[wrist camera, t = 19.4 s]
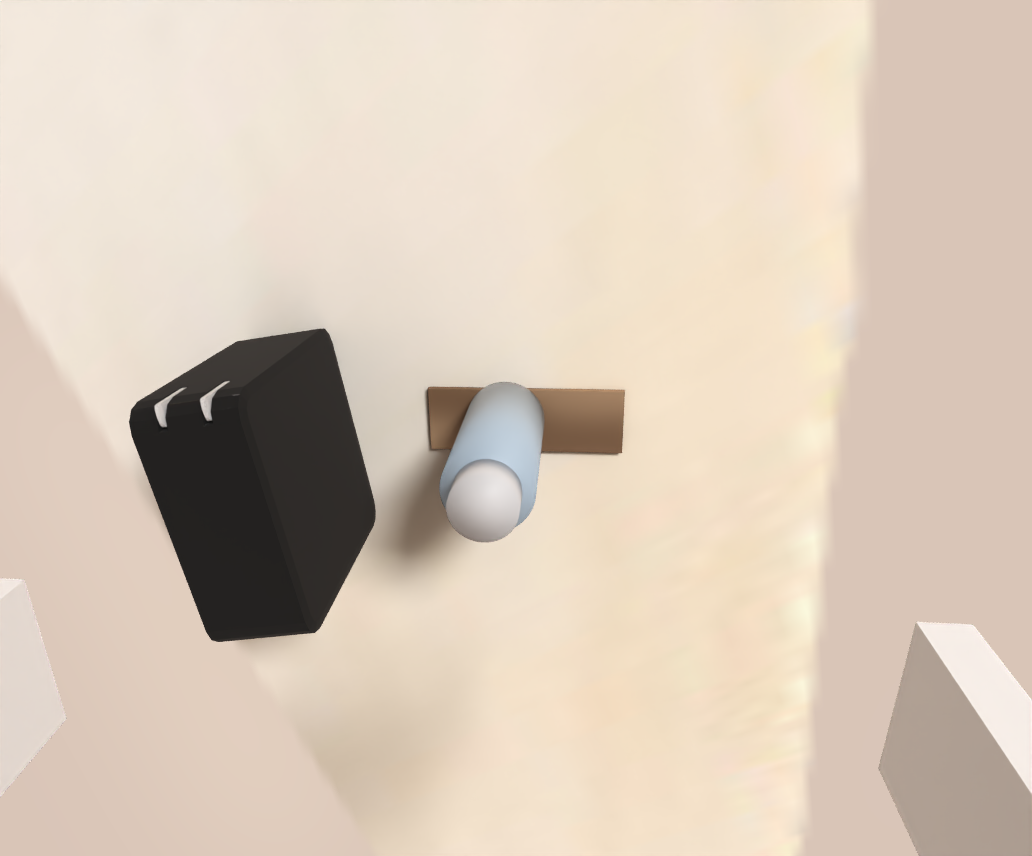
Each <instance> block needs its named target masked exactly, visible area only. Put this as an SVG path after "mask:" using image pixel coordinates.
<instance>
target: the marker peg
mask: <svg viewBox="0 0 1032 856" xmlns="http://www.w3.org/2000/svg"><path fill="white" fill-rule="evenodd" d="M544 421H545V419H544V411H543V408H542V405H541V403H540V402H539V400H538V399H537V397H536V396H535V395H534V394H533V393H532V392H531V391H530V390H528V389H527V388H525V387H523V386H521V385H518V384H515V383H510V382H499V383H494V384H491V385H489V386H486V387H485V388H483V389H482V390H480V391H479V392H478V393H477V394H476V395H475V396H474V398H473V399H472V401H471V403H470V405H469V408H468V410H467V413H466V415H465V418H464V420H463V423H462V425H461V428H460V430H459V433H458V435H457V438H456V440H455V443H454V445H453V448H452V450H451V453H450V455H449V458H448V460H447V462H446V465H445V467H444V470H443V472H442V475H441V479H440V487H439V490H440V497H441V500H442V503H443V505H444V507H445V509H446V513H447V517H448V519H449V522H450V523H451V525H452V526H453V528H454V529H455V530H456V531H457V532H458V533H459V534H461V535H462V536H464V537H466V538H468V539H470V540H473V541H477V542H493V541H497V540H499V539H502V538H504V537H505V536H507V535H508V534H509V533H510V532H511V531H512V530H513V529H514V528H515V527H516V526H518V525H519V524H520V523H522V522H523V521H524V520H525V519H526V518H527V516H528V515H529V514H530V512H531V510H532V508H533V506H534V503H535V498H536V490H537V481H538V473H539V464H540V456H541V448H542V439H543V431H544Z"/></svg>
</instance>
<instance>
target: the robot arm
mask: <svg viewBox="0 0 1032 856" xmlns="http://www.w3.org/2000/svg"><path fill="white" fill-rule="evenodd" d="M65 720H66V715H65V712H64V709H63V705H62V702H61V699H60V696H59V692H58V689H57V685H56V682H55V679H54V676H53V672H52V669H51V666H50V662H49V659H48V656H47V653H46V649H45V646H44V643H43V639H42V636H41V633H40V629H39V626H38V623H37V619H36V616H35V613H34V609H33V606H32V603H31V600H30V596H29V593H28V590H27V587H26V583H25V580H24V579H4V578H0V797H1V796H2V795H3V793H4V792H5V791H6V790H7V789H8V787H9V786H10V785H11V784H12V783H13V782H14V780H15V779H16V778H17V777H18V776H19V774H20V773H21V772H22V771H23V770H24V769H25V767H26V766H27V765H28V764H29V763H30V761H31V760H32V759H33V758H34V757H35V756H36V754H37V753H38V752H39V751H40V749H41V748H42V747H43V746H44V745H45V744H46V743H47V741H48V740H49V739H50V737H52V735H53V734H54V733H55V732H56V731H57V730H58V728H59V727H60V726H61V725H62V724H63V722H64V721H65ZM879 771H880V773H881V775H882V777H883V779H884V782H885V783H886V786H887V788H888V790H889V792H890V794H891V797H892V799H893V801H894V803H895V805H896V807H897V809H898V812H899V814H900V816H901V818H902V820H903V822H904V825H905V827H906V829H907V831H908V833H909V836H910V838H911V840H912V842H913V844H914V846H915V848H916V851H917V853H918V855H919V856H1032V700H1031V698H1030V697H1029V696H1028V695H1027V693H1026V692H1025V691H1024V690H1023V688H1022V687H1021V686H1020V684H1019V683H1018V682H1017V680H1016V679H1015V678H1014V677H1013V675H1012V674H1011V673H1010V671H1009V670H1008V669H1007V668H1006V666H1005V665H1004V664H1003V662H1002V661H1001V660H1000V659H999V657H998V656H997V655H996V653H995V652H994V651H993V650H992V648H991V647H990V646H989V645H988V643H987V642H986V641H985V639H984V638H983V637H982V636H981V634H980V633H979V632H978V630H977V629H976V628H975V627H974V625H972V624H951V623H930V622H916V624H915V628H914V632H913V636H912V640H911V644H910V647H909V652H908V655H907V659H906V663H905V668H904V671H903V675H902V678H901V682H900V686H899V690H898V694H897V698H896V702H895V706H894V709H893V713H892V717H891V721H890V725H889V729H888V733H887V737H886V741H885V744H884V748H883V752H882V756H881V760H880V764H879Z"/></svg>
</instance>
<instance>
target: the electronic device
mask: <svg viewBox="0 0 1032 856" xmlns="http://www.w3.org/2000/svg"><path fill="white" fill-rule="evenodd" d="M129 424H130V429H131V434H132V438H133V441H134V443H135V446H136V449H137V451H138V454H139V456H140V459H141V462H142V464H143V467H144V470H145V472H146V475H147V477H148V480H149V483H150V485H151V488H152V491H153V493H154V496H155V498H156V501H157V504H158V506H159V509H160V512H161V514H162V517H163V520H164V522H165V525H166V527H167V530H168V533H169V535H170V538H171V541H172V543H173V546H174V548H175V551H176V554H177V556H178V559H179V562H180V564H181V567H182V569H183V572H184V575H185V577H186V580H187V582H188V585H189V587H190V590H191V593H192V596H193V598H194V601H195V603H196V606H197V609H198V612H199V614H200V617H201V619H202V622H203V625H204V627H205V630H206V632H207V634H208V635H209V637H210V638H211V640H213V641H217V642H223V641H234V640H244V639H255V638H265V637H276V636H286V635H297V634H307V633H315V632H316V631H317V630H318V629H319V628H320V627H321V625H322V623H323V621H324V619H325V617H326V615H327V614H328V612H329V610H330V608H331V606H332V604H333V602H334V600H335V598H336V596H337V594H338V593H339V591H340V589H341V587H342V585H343V583H344V581H345V579H346V577H347V575H348V574H349V572H350V570H351V568H352V566H353V564H354V562H355V560H356V558H357V556H358V554H359V553H360V551H361V549H362V547H363V545H364V543H365V541H366V539H367V537H368V535H369V533H370V532H371V530H372V528H373V526H374V522H375V504H374V498H373V495H372V491H371V487H370V483H369V480H368V476H367V472H366V468H365V464H364V461H363V457H362V453H361V449H360V445H359V442H358V438H357V434H356V430H355V427H354V423H353V419H352V415H351V411H350V408H349V404H348V400H347V396H346V392H345V389H344V385H343V381H342V377H341V373H340V370H339V366H338V362H337V358H336V355H335V351H334V347H333V343H332V341H331V338H330V335H329V334H328V332H327V331H326V330H325V329H315V330H309V331H302V332H296V333H289V334H283V335H276V336H270V337H263V338H256V339H250V340H243V341H237V342H235V343H234V344H232V345H230V346H229V347H227V348H225V349H224V350H222V351H220V352H219V353H217V354H215V355H214V356H212V357H211V358H209V359H207V360H206V361H204V362H202V363H201V364H199V365H197V366H196V367H194V368H192V369H191V370H189V371H187V372H186V373H184V374H183V375H181V376H179V377H178V378H176V379H174V380H173V381H171V382H169V383H168V384H166V385H164V386H163V387H161V388H159V389H158V390H156V391H154V392H153V393H151V394H150V395H148V396H146V397H145V398H143V399H141V400H140V401H138V402H137V403H136V404H135V406H134V407H133V408H132V409H131V415H130V421H129Z"/></svg>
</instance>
